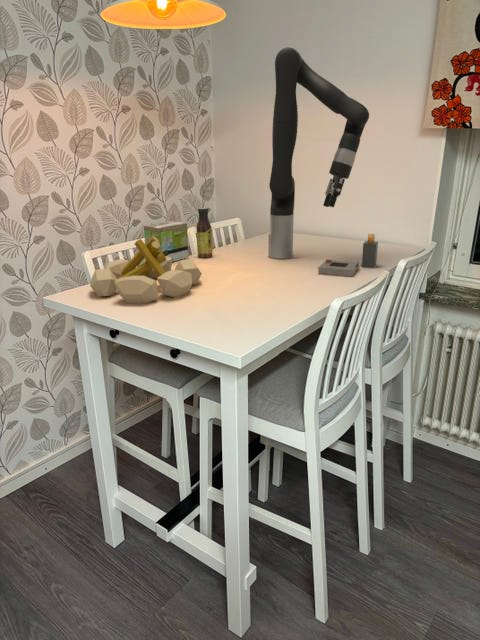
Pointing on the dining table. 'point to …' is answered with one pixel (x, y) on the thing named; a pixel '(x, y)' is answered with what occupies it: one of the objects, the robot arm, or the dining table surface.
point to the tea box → (169, 238)
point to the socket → (338, 268)
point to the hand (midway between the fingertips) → (328, 206)
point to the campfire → (145, 275)
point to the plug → (370, 252)
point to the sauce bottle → (204, 234)
